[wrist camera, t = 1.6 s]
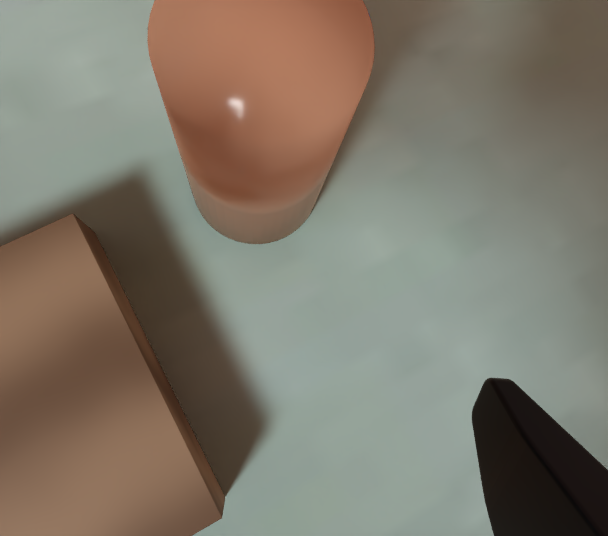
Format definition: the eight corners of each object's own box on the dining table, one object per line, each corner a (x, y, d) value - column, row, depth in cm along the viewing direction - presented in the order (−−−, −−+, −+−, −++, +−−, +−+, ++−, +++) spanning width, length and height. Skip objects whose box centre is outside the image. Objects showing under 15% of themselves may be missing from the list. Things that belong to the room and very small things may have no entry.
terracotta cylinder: (340, 210, 25) (414, 89, 14) (227, 265, 24) (212, 184, 13) (282, 103, 25) (309, -93, 14) (170, 154, 24) (108, -15, 13)
